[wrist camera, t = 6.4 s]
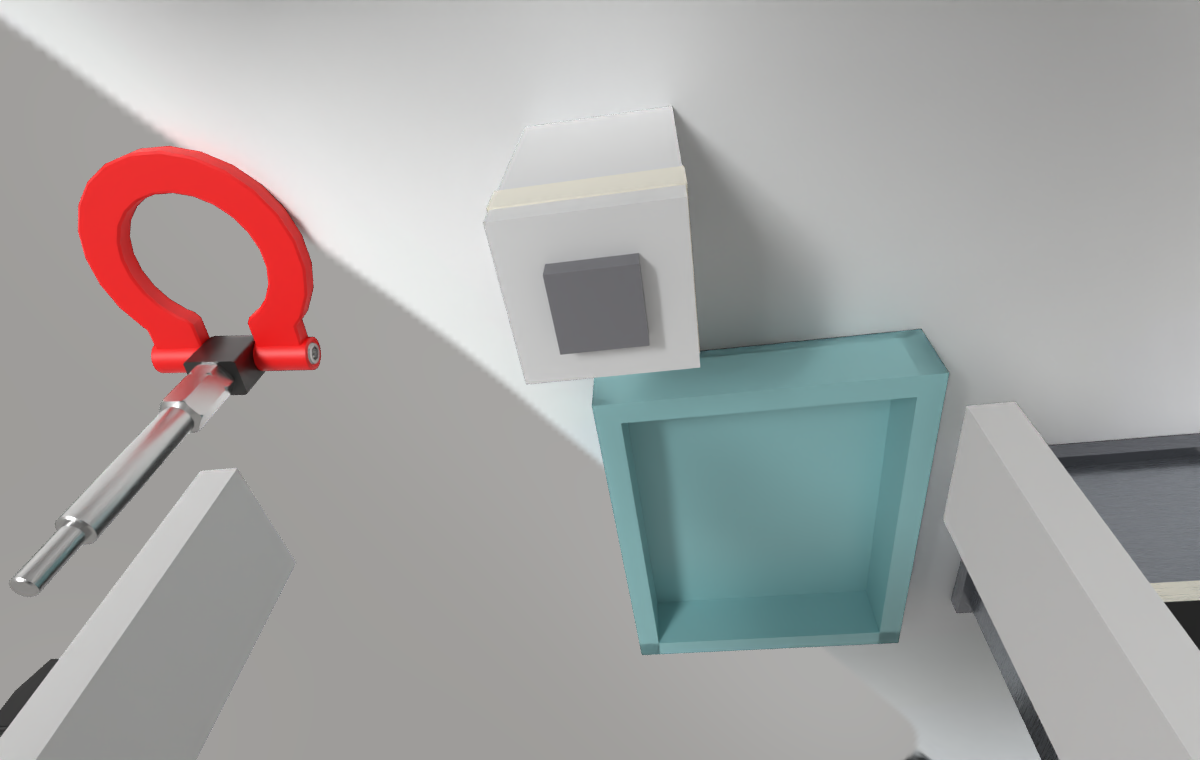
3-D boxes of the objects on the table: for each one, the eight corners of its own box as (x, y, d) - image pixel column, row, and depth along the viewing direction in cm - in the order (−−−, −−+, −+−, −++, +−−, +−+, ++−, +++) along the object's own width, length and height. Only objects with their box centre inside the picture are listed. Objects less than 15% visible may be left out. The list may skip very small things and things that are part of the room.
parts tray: (595, 361, 29) (592, 406, 26) (921, 329, 27) (949, 372, 25) (641, 606, 39) (641, 654, 36) (881, 593, 37) (898, 642, 35)
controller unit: (988, 450, 31) (1193, 779, 20) (1211, 432, 30) (1564, 771, 18) (951, 600, 37) (1088, 912, 26) (1132, 590, 36) (1356, 911, 25)
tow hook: (55, 147, 25) (159, 362, 30) (-387, 317, 14) (-105, 608, 19) (280, 138, 24) (346, 358, 29) (3, 306, 13) (184, 608, 19)
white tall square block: (523, 125, 23) (475, 231, 16) (673, 103, 22) (690, 204, 16) (551, 260, 26) (522, 398, 19) (685, 244, 25) (703, 381, 19)
